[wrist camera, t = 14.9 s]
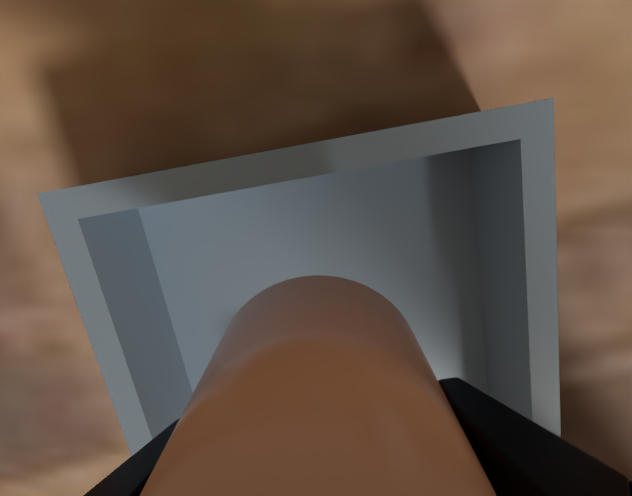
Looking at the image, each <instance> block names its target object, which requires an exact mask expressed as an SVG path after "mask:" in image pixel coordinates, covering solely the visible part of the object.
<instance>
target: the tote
mask: <svg viewBox="0 0 632 496" xmlns="http://www.w3.org/2000/svg"><path fill="white" fill-rule="evenodd" d="M37 195H38V198H39V201H40V203H41V206H42V209H43V212H44V215H45V217H46V220H47V223H48V226H49V228H50V231H51V234H52V237H53V239H54V242H55V245H56V248H57V251H58V253H59V256H60V259H61V262H62V264H63V267H64V270H65V273H66V276H67V278H68V281H69V284H70V287H71V289H72V292H73V295H74V298H75V300H76V303H77V306H78V309H79V312H80V314H81V317H82V320H83V323H84V325H85V328H86V331H87V334H88V337H89V339H90V342H91V345H92V348H93V350H94V353H95V356H96V359H97V362H98V364H99V367H100V370H101V373H102V375H103V378H104V381H105V384H106V386H107V389H108V392H109V395H110V398H111V400H112V403H113V406H114V409H115V411H116V414H117V417H118V420H119V423H120V425H121V428H122V431H123V434H124V436H125V439H126V442H127V445H128V448H129V450H130V453H131V456H133V455H134V454H135V453H136V452H138V451H139V450H140V449H141V448H142V447H144V446H145V445H146V444H147V443H149V442H150V441H151V440H152V439H153V438H155V437H156V436H157V435H158V434H160V433H161V432H162V431H163V430H164V429H166V428H167V427H168V426H169V425H171V424H172V423H173V422H174V421H175V420H177V419H179V418H180V417H181V415H182V413H183V411H184V409H185V408H186V406H187V404H188V402H189V400H190V398H191V396H192V394H193V392H194V390H195V388H196V386H197V385H198V383H199V381H200V379H201V377H202V375H203V373H204V371H205V369H206V367H207V365H208V363H209V362H210V360H211V358H212V356H213V354H214V352H215V350H216V348H217V346H218V344H219V342H220V341H221V339H222V337H223V335H224V333H225V331H226V329H227V327H228V326H229V324H230V322H231V321H232V319H233V317H234V316H235V315H236V314H237V312H238V311H239V310H240V309H241V307H242V306H244V305H245V304H246V303H247V302H248V301H249V300H250V299H251V298H253V297H254V296H255V295H257V294H258V293H260V292H261V291H263V290H265V289H266V288H268V287H270V286H272V285H274V284H277V283H280V282H282V281H285V280H288V279H293V278H297V277H303V276H312V275H323V276H334V277H341V278H345V279H349V280H352V281H356V282H358V283H361V284H363V285H365V286H368V287H370V288H371V289H373V290H375V291H376V292H378V293H380V294H381V295H383V296H384V297H385V298H386V299H388V300H389V301H390V302H391V303H392V304H393V305H394V306H395V307H396V308H397V309H398V310H399V311H400V312H401V314H402V315H403V316H404V318H405V319H406V320H407V322H408V324H409V326H410V327H411V329H412V331H413V333H414V335H415V337H416V339H417V341H418V343H419V345H420V347H421V349H422V351H423V353H424V355H425V357H426V359H427V360H428V362H429V364H430V366H431V368H432V370H433V372H434V374H435V376H436V378H437V380H438V381H439V380H440V379H446V378H452V377H458V378H460V379H462V380H464V381H465V382H467V383H469V384H470V385H472V386H474V387H476V388H477V389H479V390H481V391H482V392H484V393H486V394H487V395H489V396H491V397H493V398H494V399H496V400H498V401H499V402H501V403H503V404H504V405H506V406H508V407H510V408H511V409H513V410H515V411H516V412H518V413H520V414H521V415H523V416H525V417H527V418H528V419H530V420H532V421H533V422H535V423H537V424H539V425H540V426H542V427H544V428H545V429H547V430H549V431H550V432H552V433H554V434H556V435H557V436H559V437H561V428H560V381H559V333H558V285H557V237H556V189H555V142H554V98H550V99H544V100H539V101H534V102H528V103H523V104H517V105H512V106H507V107H501V108H496V109H491V110H485V111H480V112H474V113H469V114H464V115H458V116H453V117H447V118H442V119H437V120H431V121H426V122H420V123H415V124H410V125H404V126H399V127H393V128H388V129H383V130H377V131H372V132H367V133H361V134H356V135H350V136H345V137H340V138H334V139H329V140H323V141H318V142H313V143H307V144H302V145H296V146H291V147H286V148H280V149H275V150H269V151H264V152H259V153H253V154H248V155H243V156H237V157H232V158H226V159H221V160H216V161H210V162H205V163H199V164H194V165H189V166H183V167H178V168H172V169H167V170H162V171H156V172H151V173H145V174H140V175H135V176H129V177H124V178H119V179H113V180H108V181H102V182H97V183H92V184H86V185H81V186H75V187H70V188H65V189H59V190H54V191H48V192H43V193H38V194H37Z"/></svg>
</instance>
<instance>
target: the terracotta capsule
mask: <svg viewBox="0 0 632 496" xmlns="http://www.w3.org/2000/svg"><path fill="white" fill-rule="evenodd" d="M140 496H497V495H496V493H495V491H494V489H493V487H492V485H491V483H490V482H489V480H488V478H487V476H486V474H485V472H484V470H483V468H482V466H481V464H480V462H479V460H478V458H477V456H476V454H475V452H474V450H473V448H472V446H471V444H470V442H469V441H468V439H467V437H466V435H465V433H464V431H463V429H462V427H461V425H460V423H459V421H458V419H457V417H456V415H455V413H454V411H453V409H452V407H451V405H450V403H449V401H448V400H447V398H446V396H445V394H444V392H443V390H442V388H441V386H440V384H439V382H438V380H437V378H436V376H435V374H434V372H433V370H432V368H431V366H430V364H429V362H428V360H427V359H426V357H425V355H424V353H423V351H422V349H421V347H420V345H419V343H418V341H417V339H416V337H415V335H414V333H413V331H412V329H411V327H410V326H409V324H408V322H407V320H406V319H405V318H404V316H403V315H402V314H401V312H400V311H399V310H398V309H397V308H396V307H395V306H394V305H393V304H392V303H391V302H390V301H389V300H388V299H386V298H385V297H384V296H383V295H381V294H380V293H378V292H376V291H375V290H373V289H371V288H370V287H368V286H365V285H363V284H361V283H358V282H356V281H352V280H349V279H345V278H341V277H334V276H323V275H312V276H303V277H297V278H293V279H288V280H285V281H282V282H280V283H277V284H274V285H272V286H270V287H268V288H266V289H265V290H263V291H261V292H260V293H258V294H257V295H255V296H254V297H253V298H251V299H250V300H249V301H248V302H247V303H246V304H245V305H244V306H242V307H241V309H240V310H239V311H238V312H237V314H236V315H235V316H234V317H233V319H232V321H231V322H230V324H229V326H228V327H227V329H226V331H225V333H224V335H223V337H222V339H221V341H220V342H219V344H218V346H217V348H216V350H215V352H214V354H213V356H212V358H211V360H210V362H209V363H208V365H207V367H206V369H205V371H204V373H203V375H202V377H201V379H200V381H199V383H198V385H197V386H196V388H195V390H194V392H193V394H192V396H191V398H190V400H189V402H188V404H187V406H186V408H185V409H184V411H183V413H182V415H181V417H180V419H179V421H178V423H177V425H176V427H175V429H174V431H173V432H172V434H171V436H170V438H169V440H168V442H167V444H166V446H165V448H164V450H163V452H162V454H161V455H160V457H159V459H158V461H157V463H156V465H155V467H154V469H153V471H152V473H151V475H150V476H149V478H148V480H147V482H146V484H145V486H144V488H143V490H142V492H141V494H140Z"/></svg>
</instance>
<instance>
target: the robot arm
mask: <svg viewBox="0 0 632 496" xmlns="http://www.w3.org/2000/svg"><path fill="white" fill-rule="evenodd" d="M438 382H439V384H440V386H441V388H442V390H443V392H444V394H445V396H446V398H447V400H448V401H449V403H450V405H451V407H452V409H453V411H454V413H455V415H456V417H457V419H458V421H459V423H460V425H461V427H462V429H463V431H464V433H465V435H466V437H467V439H468V441H469V442H470V444H471V446H472V448H473V450H474V452H475V454H476V456H477V458H478V460H479V462H480V464H481V466H482V468H483V470H484V472H485V474H486V476H487V478H488V480H489V482H490V483H491V485H492V487H493V489H494V491H495V493H496V495H497V496H632V481H629V478H628V477H627V476H625V475H624V474H622V473H620V472H619V471H617V470H615V469H613V468H612V467H610V466H608V465H607V464H605V463H603V462H601V461H600V460H598V459H596V458H595V457H593V456H591V455H590V454H588V453H586V452H584V451H583V450H581V449H579V448H578V447H576V446H574V445H573V444H571V443H569V442H567V441H566V440H564V439H562V438H561V437H559V436H557V435H556V434H554V433H552V432H550V431H549V430H547V429H545V428H544V427H542V426H540V425H539V424H537V423H535V422H533V421H532V420H530V419H528V418H527V417H525V416H523V415H521V414H520V413H518V412H516V411H515V410H513V409H511V408H510V407H508V406H506V405H504V404H503V403H501V402H499V401H498V400H496V399H494V398H493V397H491V396H489V395H487V394H486V393H484V392H482V391H481V390H479V389H477V388H476V387H474V386H472V385H470V384H469V383H467V382H465V381H464V380H462V379H460V378H458V377H452V378H446V379H440V380H439V381H438ZM179 419H180V418H179ZM179 419H177V420H175V421H174V422H173V423H172V424H171V425H169V426H168V427H167V428H166V429H164V430H163V431H162V432H161V433H160V434H158V435H157V436H156V437H155V438H153V439H152V440H151V441H150V442H149V443H147V444H146V445H145V446H144V447H142V448H141V449H140V450H139V451H138V452H136V453H135V454H134V455H133V456H131V457H130V458H129V459H128V460H127V461H125V462H124V463H123V464H122V465H120V466H119V467H118V468H117V469H116V470H114V471H113V472H112V473H111V474H109V475H108V476H107V477H106V478H105V479H103V480H102V481H101V482H100V483H98V484H97V485H96V486H95V487H93V488H92V489H91V490H90V491H89V492H87V493H86V494H85V495H84V496H140V494H141V492H142V490H143V488H144V486H145V484H146V482H147V480H148V478H149V476H150V475H151V473H152V471H153V469H154V467H155V465H156V463H157V461H158V459H159V457H160V455H161V454H162V452H163V450H164V448H165V446H166V444H167V442H168V440H169V438H170V436H171V434H172V432H173V431H174V429H175V427H176V425H177V423H178V421H179Z"/></svg>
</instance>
